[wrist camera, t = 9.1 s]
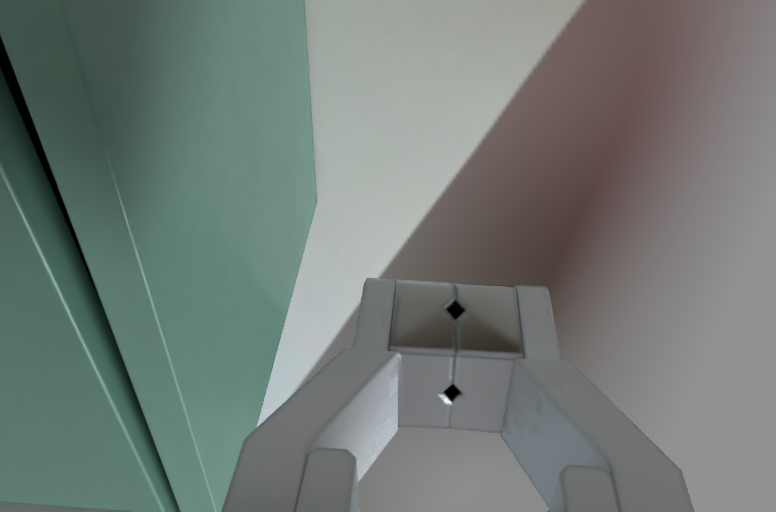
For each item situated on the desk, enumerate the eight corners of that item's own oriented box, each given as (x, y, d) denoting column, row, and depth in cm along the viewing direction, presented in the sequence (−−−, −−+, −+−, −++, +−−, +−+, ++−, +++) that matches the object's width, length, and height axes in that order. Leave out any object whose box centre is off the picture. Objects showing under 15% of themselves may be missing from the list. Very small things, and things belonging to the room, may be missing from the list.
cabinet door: (408, -386, 17) (316, -796, 4) (391, 206, 30) (355, 552, 17) (244, -389, 17) (-317, -794, 4) (296, 201, 30) (190, 540, 17)
